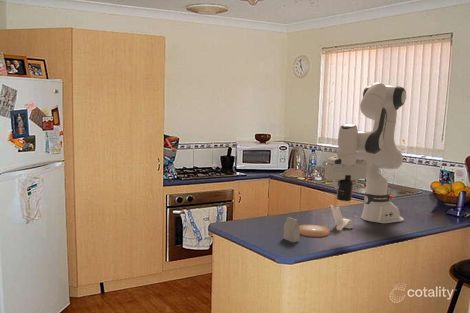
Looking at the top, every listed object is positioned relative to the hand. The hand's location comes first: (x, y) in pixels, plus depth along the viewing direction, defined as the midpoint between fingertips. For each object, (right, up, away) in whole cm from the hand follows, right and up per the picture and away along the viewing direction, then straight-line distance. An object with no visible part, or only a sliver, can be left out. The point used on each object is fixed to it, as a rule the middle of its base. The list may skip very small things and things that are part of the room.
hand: (344, 188), depth 231 cm
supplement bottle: (0, -5, 0) cm, 5 cm away
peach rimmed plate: (-14, -21, +9) cm, 27 cm away
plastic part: (+2, -21, +19) cm, 28 cm away
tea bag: (-26, -23, -5) cm, 35 cm away
